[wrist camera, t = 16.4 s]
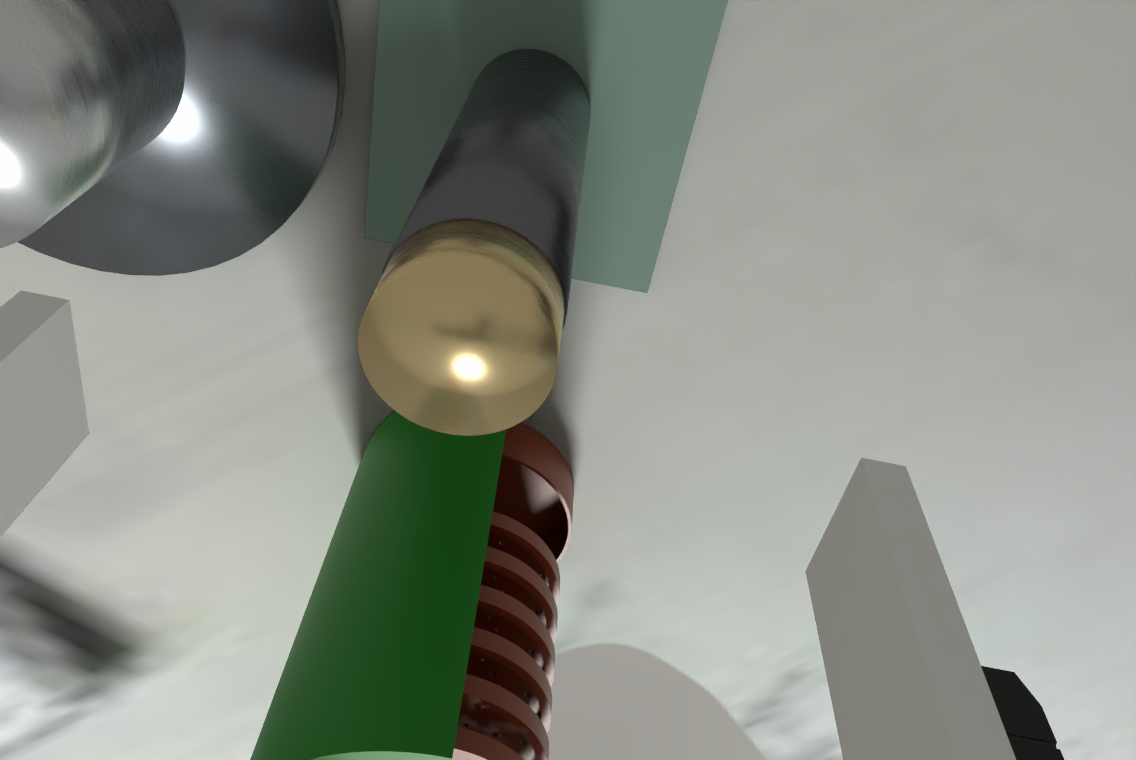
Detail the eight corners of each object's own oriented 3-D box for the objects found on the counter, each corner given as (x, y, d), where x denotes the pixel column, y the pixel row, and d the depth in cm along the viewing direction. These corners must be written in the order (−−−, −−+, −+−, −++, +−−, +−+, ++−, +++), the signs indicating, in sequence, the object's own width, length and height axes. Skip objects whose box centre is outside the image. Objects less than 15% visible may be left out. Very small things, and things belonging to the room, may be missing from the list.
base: (358, -215, 24) (349, -215, 23) (335, 300, 33) (327, 313, 32) (-266, -358, 23) (-299, -362, 22) (-113, 214, 32) (-133, 226, 31)
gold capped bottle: (597, 56, 27) (570, 278, 15) (583, 175, 29) (551, 448, 18) (471, 41, 27) (350, 252, 15) (467, 161, 29) (359, 425, 17)
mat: (728, -9, 26) (729, -6, 26) (647, 287, 32) (647, 293, 31) (388, -83, 25) (384, -82, 25) (367, 232, 31) (364, 237, 31)
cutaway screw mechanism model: (608, 550, 39) (593, 1119, 23) (425, 591, 41) (288, 1137, 25) (523, 366, 34) (421, 930, 17) (318, 423, 36) (54, 974, 19)
